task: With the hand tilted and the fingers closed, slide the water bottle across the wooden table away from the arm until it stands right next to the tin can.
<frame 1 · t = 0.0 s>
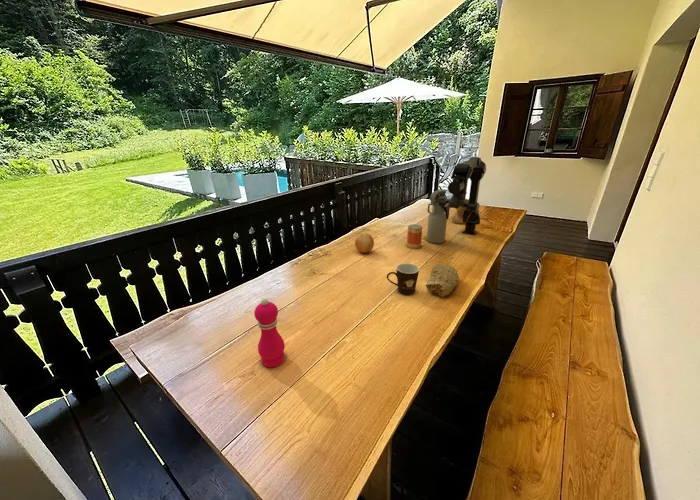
hand: (456, 220, 152), 15 cm above the table, tool pointing down, fingers open, 9 cm apart
rock: (441, 285, 122), on the table
coffee mug: (402, 290, 119), on the table
onion: (364, 252, 154), on the table
stone cup: (461, 221, 199), on the table
tin can: (413, 246, 161), on the table
pepper mill: (273, 359, 85), on the table
water bottle: (435, 241, 167), on the table
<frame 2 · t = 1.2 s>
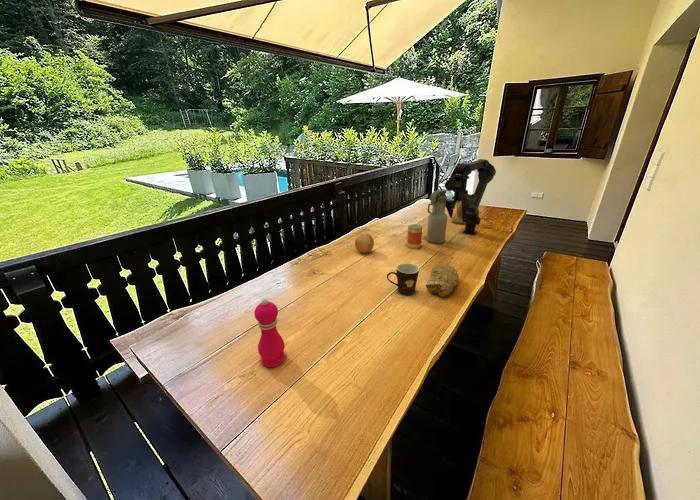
hand: (457, 216, 165), 13 cm above the table, tool pointing down, fingers open, 9 cm apart
nothing on the table moved.
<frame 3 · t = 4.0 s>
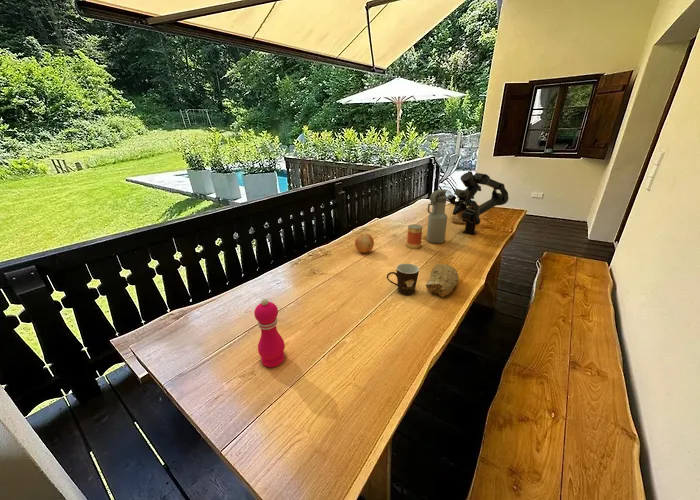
hand: (453, 214, 167), 13 cm above the table, tool tilted 45°, fingers closed
nothing on the table moved.
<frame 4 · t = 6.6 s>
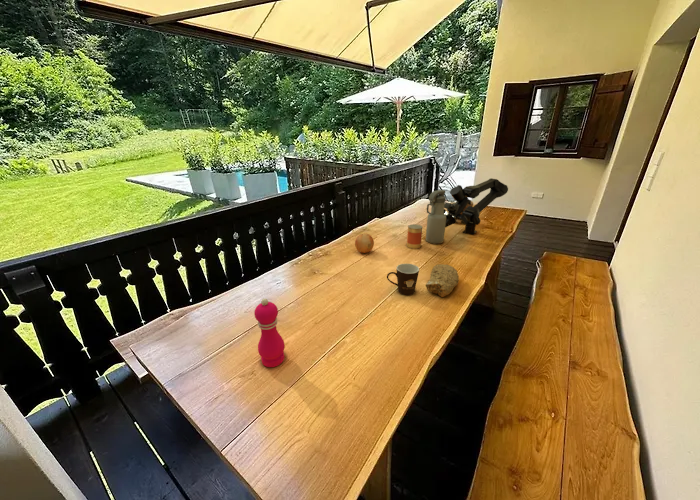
hand: (442, 227, 167), 7 cm above the table, tool tilted 45°, fingers closed, pressing on water bottle
water bottle: (434, 241, 167), on the table, touching gripper
everything else where it was.
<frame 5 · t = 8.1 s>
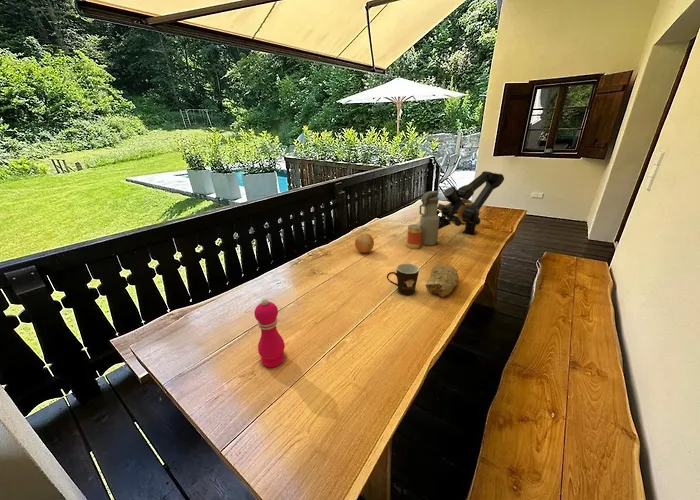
hand: (436, 229, 165), 7 cm above the table, tool tilted 45°, fingers closed
water bottle: (427, 242, 165), on the table
everything else where it was.
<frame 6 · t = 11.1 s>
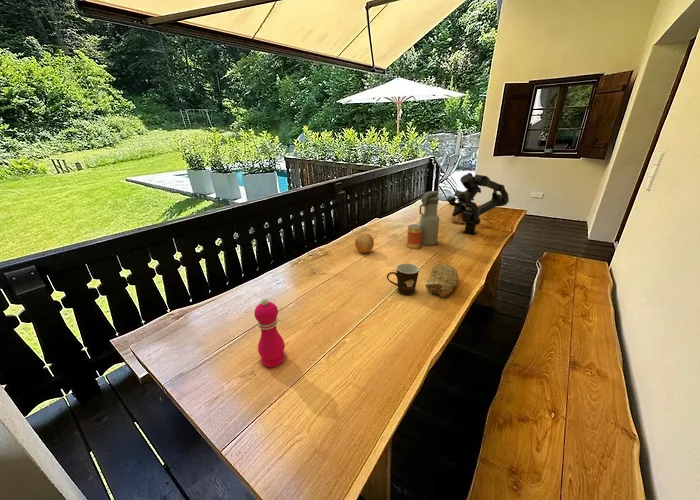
hand: (453, 215, 167), 13 cm above the table, tool tilted 45°, fingers closed
nothing on the table moved.
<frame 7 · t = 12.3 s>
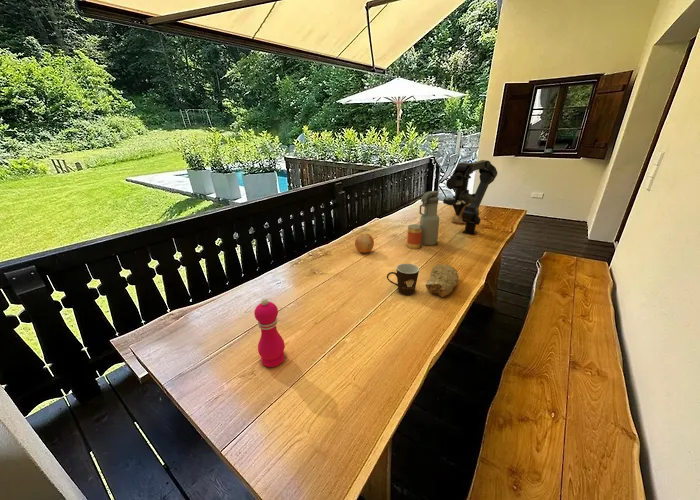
hand: (457, 215, 166), 13 cm above the table, tool pointing down, fingers closed
nothing on the table moved.
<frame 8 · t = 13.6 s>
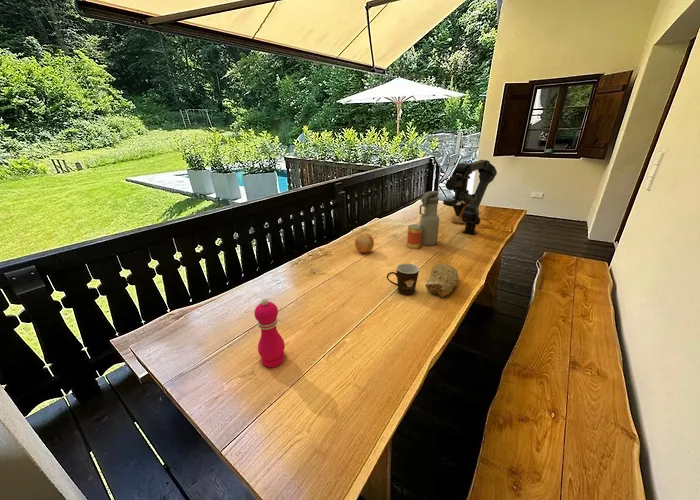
hand: (457, 216, 166), 13 cm above the table, tool pointing down, fingers closed
nothing on the table moved.
at the end: water bottle 9.6 cm from the tin can (horizontally); water bottle moved 5.6 cm from its start; water bottle tilted 0° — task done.
